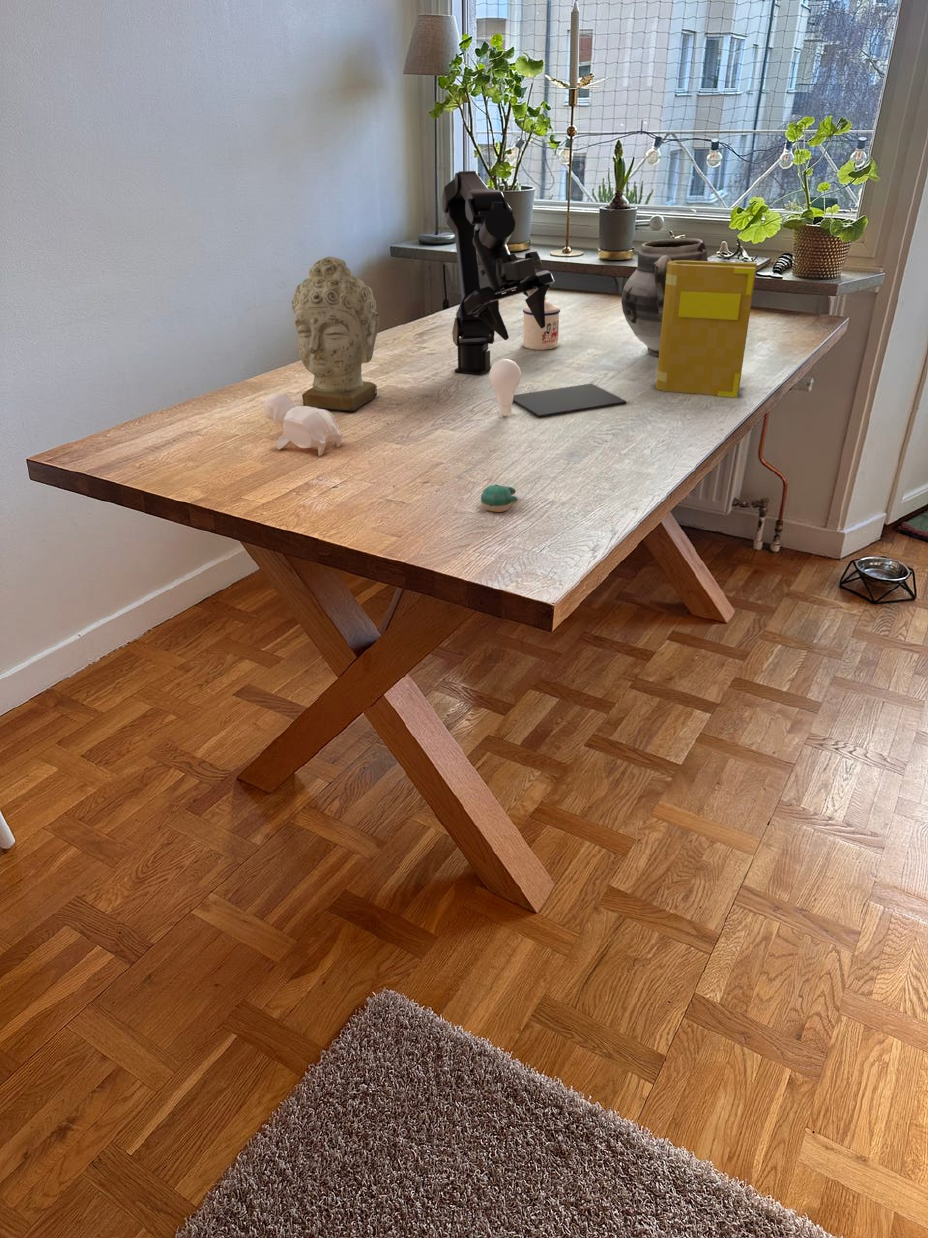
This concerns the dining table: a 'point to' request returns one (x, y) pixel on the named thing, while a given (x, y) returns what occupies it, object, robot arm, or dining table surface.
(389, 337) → the dining table surface
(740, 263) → the book
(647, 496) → the dining table surface
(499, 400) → the lightbulb
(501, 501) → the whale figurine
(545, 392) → the mat
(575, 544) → the dining table surface
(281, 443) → the white turtle figurine
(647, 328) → the ceramic pot
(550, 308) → the teacup with lid
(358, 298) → the buddha head
